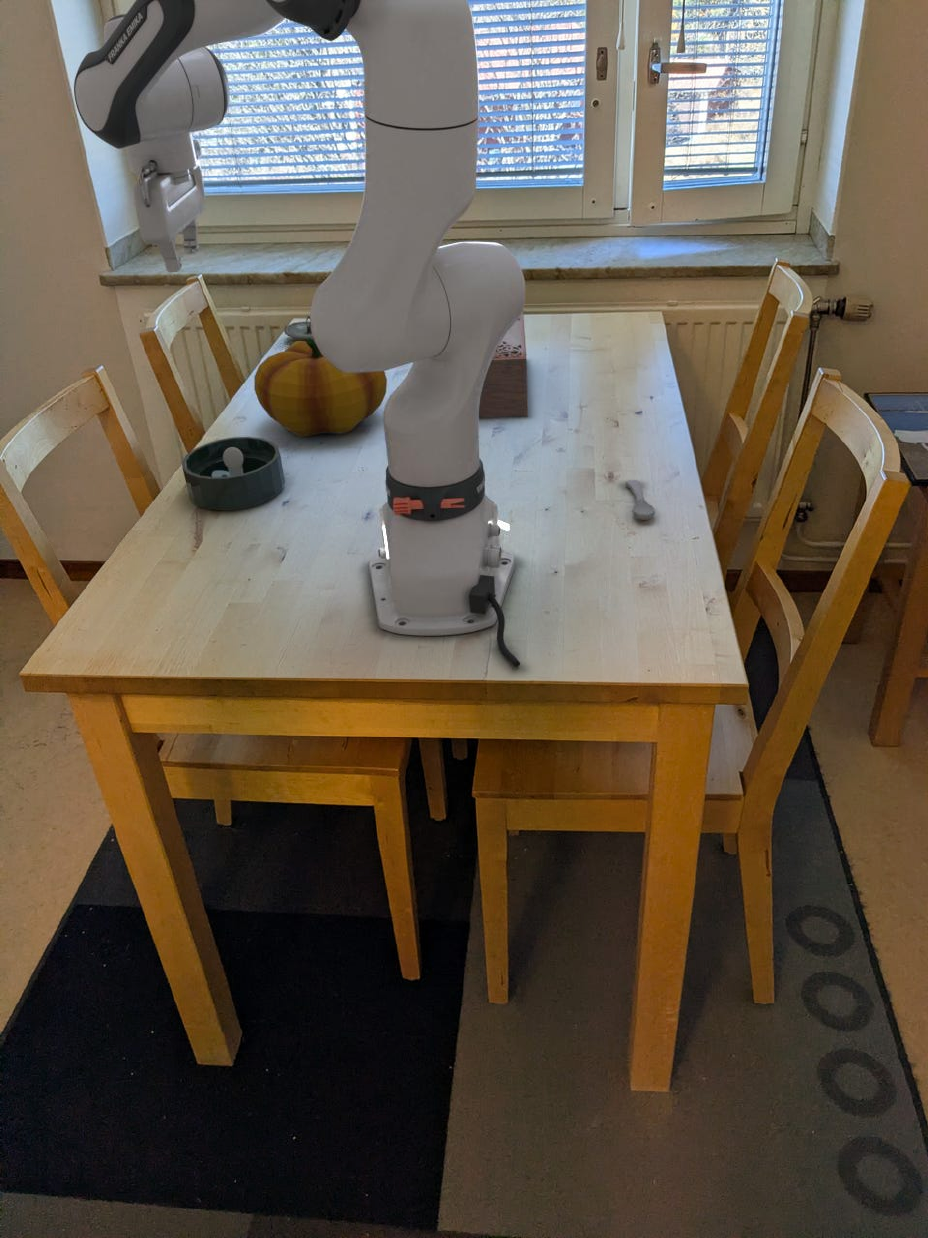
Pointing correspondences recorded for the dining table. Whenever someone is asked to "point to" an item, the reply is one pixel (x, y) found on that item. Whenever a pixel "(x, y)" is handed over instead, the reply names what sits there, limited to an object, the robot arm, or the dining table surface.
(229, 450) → the pacifier
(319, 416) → the decorative pumpkin
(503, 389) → the tissue box cover
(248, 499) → the bowl
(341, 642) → the dining table surface
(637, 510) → the spoon
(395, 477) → the robot arm
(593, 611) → the dining table surface
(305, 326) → the lid
